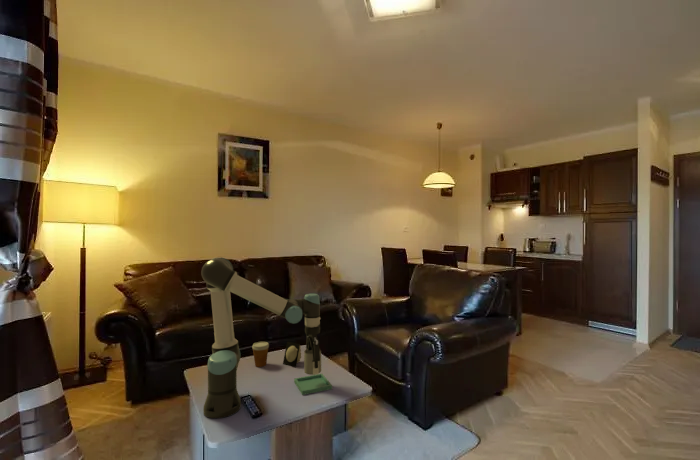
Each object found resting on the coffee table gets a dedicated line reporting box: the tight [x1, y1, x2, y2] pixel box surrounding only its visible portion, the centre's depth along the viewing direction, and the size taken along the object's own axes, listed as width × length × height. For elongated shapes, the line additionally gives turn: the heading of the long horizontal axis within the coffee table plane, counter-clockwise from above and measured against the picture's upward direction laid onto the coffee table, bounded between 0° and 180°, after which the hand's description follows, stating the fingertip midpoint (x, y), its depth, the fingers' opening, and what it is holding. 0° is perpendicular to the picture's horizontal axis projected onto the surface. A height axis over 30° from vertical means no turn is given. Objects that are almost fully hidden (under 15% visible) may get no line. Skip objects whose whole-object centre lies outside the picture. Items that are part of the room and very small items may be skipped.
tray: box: [293, 373, 333, 396], centre depth 168 cm, size 15×15×2 cm
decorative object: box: [282, 341, 302, 368], centre depth 196 cm, size 13×10×10 cm
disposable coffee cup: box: [251, 341, 270, 368], centre depth 194 cm, size 10×10×12 cm
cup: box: [303, 348, 322, 376], centre depth 168 cm, size 8×8×10 cm
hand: (312, 370), depth 168 cm, fingers closed on cup, 8 cm apart
